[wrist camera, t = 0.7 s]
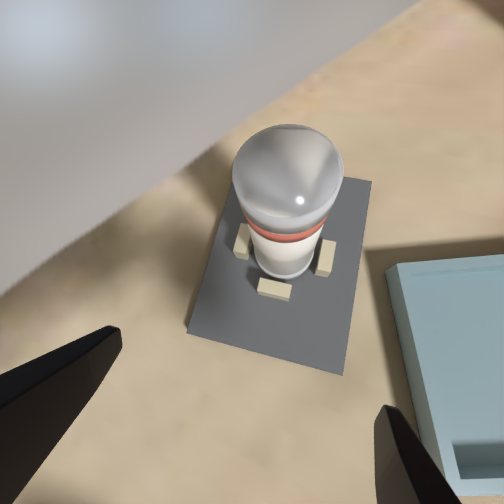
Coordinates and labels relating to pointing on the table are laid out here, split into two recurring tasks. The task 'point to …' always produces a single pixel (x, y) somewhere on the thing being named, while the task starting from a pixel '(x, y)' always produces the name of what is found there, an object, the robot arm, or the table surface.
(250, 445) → the table surface
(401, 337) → the tray
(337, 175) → the white cylinder
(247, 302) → the board
